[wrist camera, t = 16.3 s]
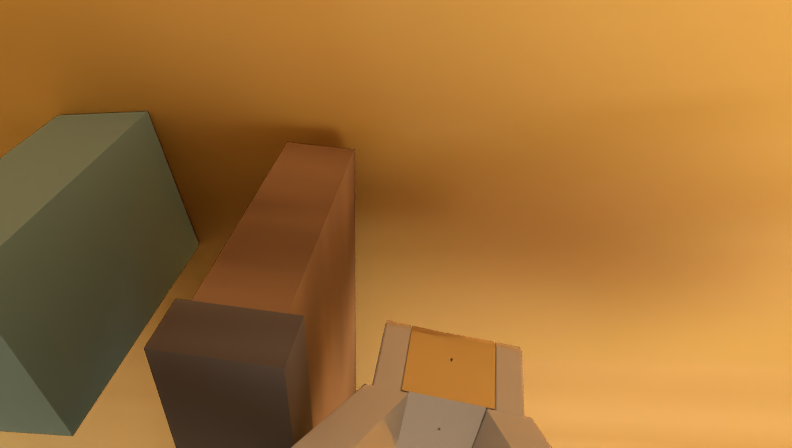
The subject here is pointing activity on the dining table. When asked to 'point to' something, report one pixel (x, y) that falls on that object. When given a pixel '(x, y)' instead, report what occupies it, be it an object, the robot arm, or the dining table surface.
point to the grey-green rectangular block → (81, 261)
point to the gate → (268, 315)
